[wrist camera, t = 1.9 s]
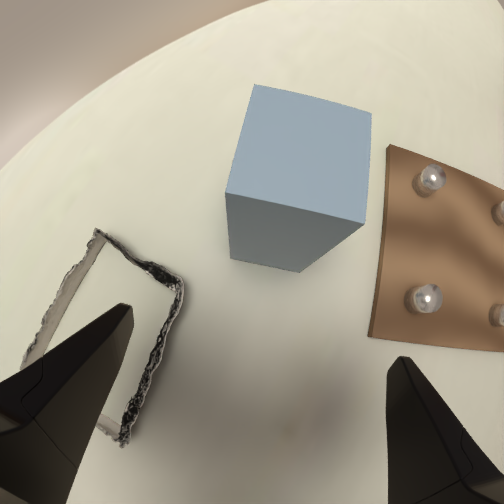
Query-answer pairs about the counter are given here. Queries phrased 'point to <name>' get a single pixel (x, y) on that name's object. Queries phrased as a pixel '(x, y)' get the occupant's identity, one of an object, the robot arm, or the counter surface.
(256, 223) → the slate blue block
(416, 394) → the robot arm
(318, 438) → the counter surface
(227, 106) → the counter surface
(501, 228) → the peg stand
